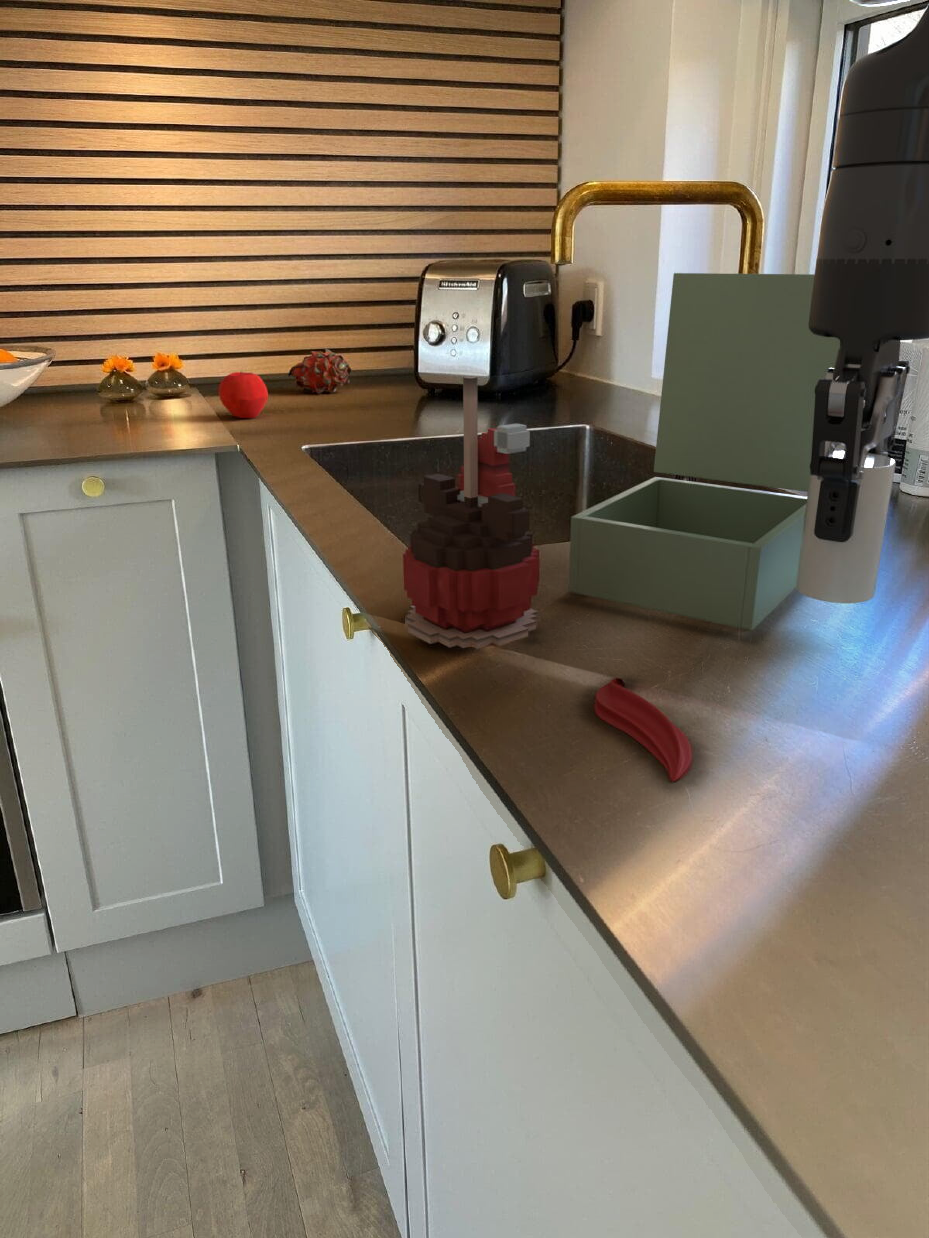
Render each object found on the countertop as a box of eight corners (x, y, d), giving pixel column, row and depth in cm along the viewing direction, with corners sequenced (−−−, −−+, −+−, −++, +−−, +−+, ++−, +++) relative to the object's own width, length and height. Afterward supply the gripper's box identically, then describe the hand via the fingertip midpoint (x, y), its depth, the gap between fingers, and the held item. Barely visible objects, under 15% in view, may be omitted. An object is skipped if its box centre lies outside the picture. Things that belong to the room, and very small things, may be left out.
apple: (212, 417, 154) (207, 371, 151) (256, 411, 159) (251, 366, 156) (233, 423, 148) (228, 375, 146) (278, 417, 153) (274, 371, 150)
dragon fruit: (357, 401, 178) (295, 411, 179) (357, 370, 183) (297, 379, 184) (345, 368, 171) (281, 378, 172) (345, 336, 175) (283, 346, 177)
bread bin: (750, 640, 66) (761, 548, 64) (567, 600, 74) (570, 516, 71) (812, 578, 78) (823, 498, 76) (649, 549, 86) (654, 476, 83)
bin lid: (857, 274, 70) (871, 278, 74) (673, 273, 78) (694, 276, 82) (823, 494, 75) (838, 486, 79) (653, 472, 83) (674, 466, 87)
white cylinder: (881, 587, 64) (903, 456, 61) (864, 609, 60) (886, 471, 57) (807, 574, 67) (824, 448, 63) (786, 594, 63) (802, 461, 60)
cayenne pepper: (587, 682, 60) (588, 654, 59) (660, 682, 60) (662, 654, 59) (612, 781, 49) (613, 749, 48) (700, 782, 49) (704, 750, 48)
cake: (377, 624, 70) (366, 375, 63) (476, 596, 75) (475, 364, 68) (466, 672, 62) (463, 393, 55) (569, 637, 67) (578, 379, 60)
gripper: (930, 254, 48) (879, 568, 54) (972, 251, 59) (925, 513, 65) (783, 254, 52) (751, 547, 58) (848, 251, 63) (815, 498, 69)
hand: (843, 527), depth 62 cm, fingers closed on white cylinder, 5 cm apart
